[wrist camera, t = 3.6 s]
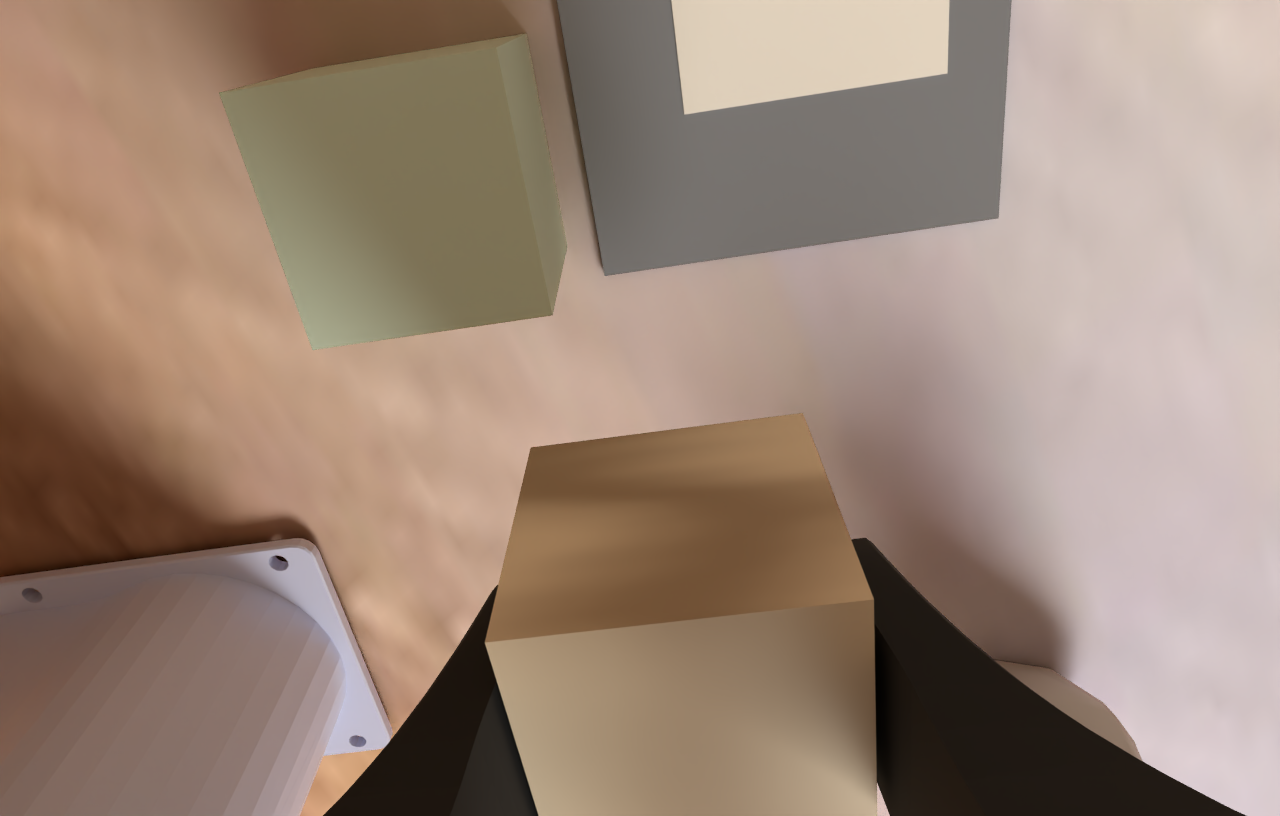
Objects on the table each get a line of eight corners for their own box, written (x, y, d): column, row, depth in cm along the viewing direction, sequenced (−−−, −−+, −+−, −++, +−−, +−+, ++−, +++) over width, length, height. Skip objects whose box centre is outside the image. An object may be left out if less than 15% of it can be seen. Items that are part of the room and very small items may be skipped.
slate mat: (604, 273, 19) (604, 276, 19) (511, -266, 14) (509, -270, 14) (994, 216, 18) (998, 218, 18) (1027, -361, 14) (1034, -367, 14)
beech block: (579, 648, 15) (557, 878, 11) (530, 447, 13) (484, 642, 9) (815, 622, 15) (877, 849, 11) (802, 412, 13) (873, 599, 9)
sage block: (378, 273, 19) (312, 350, 15) (314, 67, 17) (218, 92, 13) (567, 245, 19) (552, 315, 15) (526, 32, 17) (496, 47, 13)
